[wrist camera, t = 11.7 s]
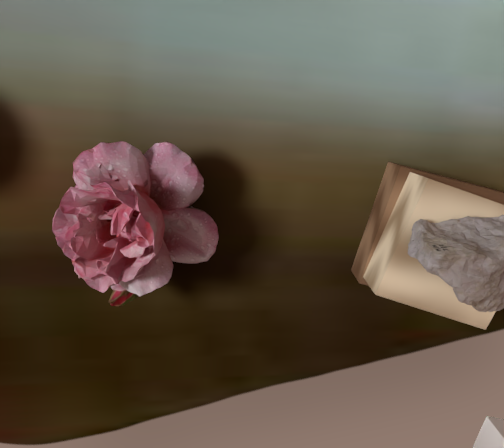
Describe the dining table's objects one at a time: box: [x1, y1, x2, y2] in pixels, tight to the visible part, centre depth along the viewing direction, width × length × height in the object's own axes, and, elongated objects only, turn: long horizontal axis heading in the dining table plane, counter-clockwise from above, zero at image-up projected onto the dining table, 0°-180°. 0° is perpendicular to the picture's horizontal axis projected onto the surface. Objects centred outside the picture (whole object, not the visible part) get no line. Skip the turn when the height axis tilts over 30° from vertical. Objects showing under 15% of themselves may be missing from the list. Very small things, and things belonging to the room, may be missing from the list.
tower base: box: [351, 162, 504, 286], centre depth 40 cm, size 12×12×4 cm
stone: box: [408, 215, 504, 312], centre depth 32 cm, size 8×10×6 cm
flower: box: [52, 141, 219, 307], centre depth 37 cm, size 15×15×10 cm
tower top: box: [363, 172, 504, 330], centre depth 36 cm, size 11×11×4 cm
